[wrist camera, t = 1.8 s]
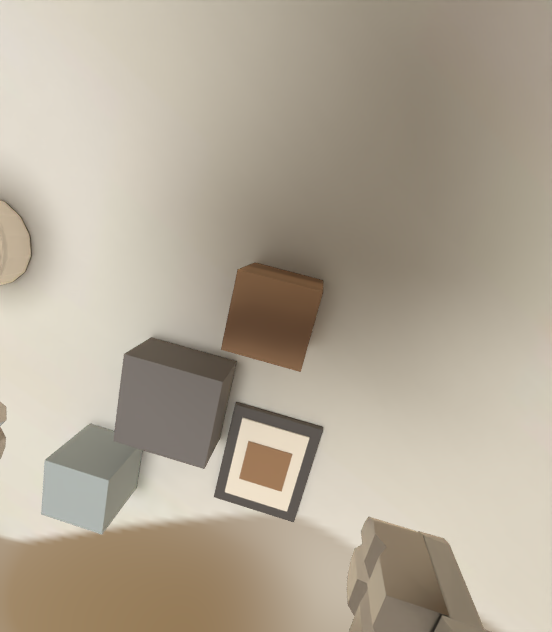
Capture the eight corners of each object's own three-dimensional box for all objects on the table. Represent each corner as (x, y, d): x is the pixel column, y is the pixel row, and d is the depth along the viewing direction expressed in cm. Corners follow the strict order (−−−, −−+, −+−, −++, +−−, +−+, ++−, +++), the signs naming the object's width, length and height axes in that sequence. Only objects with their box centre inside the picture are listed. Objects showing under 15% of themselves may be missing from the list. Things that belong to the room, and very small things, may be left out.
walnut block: (254, 262, 24) (237, 269, 19) (323, 280, 24) (323, 291, 19) (240, 327, 26) (221, 349, 21) (305, 345, 25) (300, 371, 20)
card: (236, 401, 27) (234, 405, 26) (322, 427, 26) (322, 431, 26) (215, 493, 29) (213, 498, 29) (294, 518, 29) (293, 524, 28)
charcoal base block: (152, 336, 27) (124, 354, 23) (237, 360, 26) (222, 381, 23) (141, 413, 29) (113, 441, 25) (220, 436, 28) (204, 468, 24)
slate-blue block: (90, 423, 30) (44, 460, 25) (144, 439, 29) (108, 480, 24) (85, 470, 31) (41, 514, 26) (137, 486, 30) (101, 534, 26)
